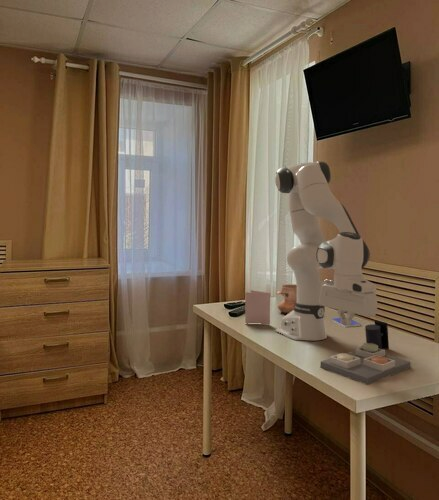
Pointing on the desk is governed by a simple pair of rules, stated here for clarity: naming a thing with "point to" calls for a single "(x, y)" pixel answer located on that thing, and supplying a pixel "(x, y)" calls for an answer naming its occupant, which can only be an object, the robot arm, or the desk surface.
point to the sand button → (345, 357)
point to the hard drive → (347, 325)
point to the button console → (365, 366)
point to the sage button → (370, 347)
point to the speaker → (377, 334)
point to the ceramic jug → (288, 297)
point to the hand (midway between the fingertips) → (345, 324)
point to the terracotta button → (379, 359)
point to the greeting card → (257, 307)
